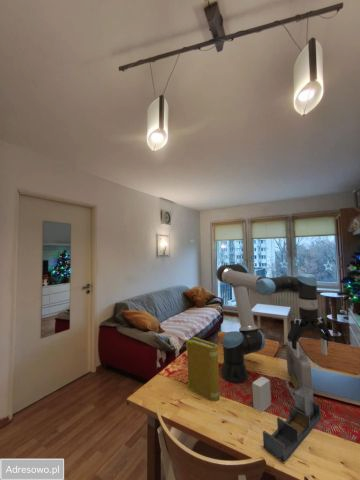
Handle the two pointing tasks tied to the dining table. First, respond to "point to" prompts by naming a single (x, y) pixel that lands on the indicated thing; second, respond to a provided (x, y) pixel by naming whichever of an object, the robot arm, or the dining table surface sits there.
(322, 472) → the dining table surface
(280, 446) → the rack
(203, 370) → the book
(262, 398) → the block
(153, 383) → the dining table surface
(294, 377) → the network device
